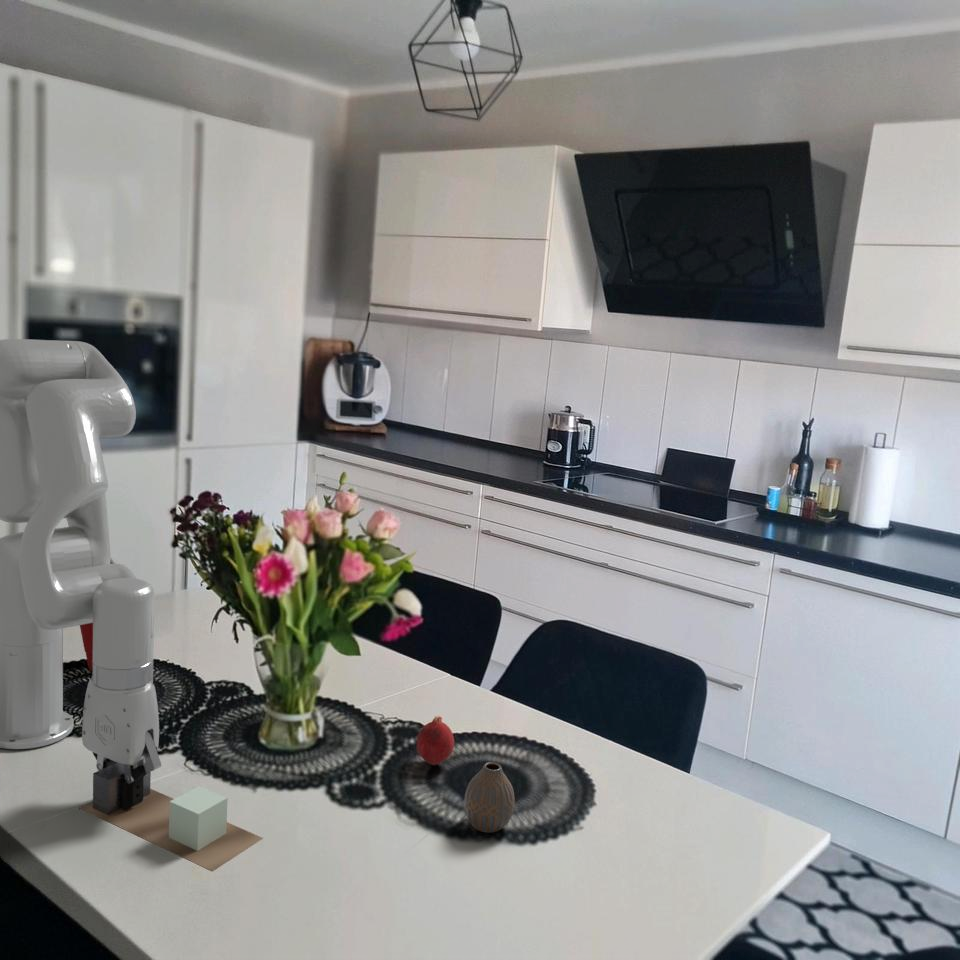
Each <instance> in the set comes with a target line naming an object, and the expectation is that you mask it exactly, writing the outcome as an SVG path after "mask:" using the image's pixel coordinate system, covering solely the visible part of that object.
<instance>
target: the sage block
mask: <svg viewBox="0 0 960 960" xmlns="http://www.w3.org/2000/svg"><path fill="white" fill-rule="evenodd" d="M227 817H228V797H226V796H224V795H222V794H219V793H217V792H214V791H213V790H210V789H207V788H206V787H203V786H200V785H198V786H195V788H192V789H190V790H189V791H187V792H185V793H183V794H181V795H179V796H177V797H175V798H173V800H171V801H170V810H169V838H171V839H173V840H175V841H177V842H180V843H182V844H184V845H186V846H188V847H190V848H192V849H195V850H197V851H198V850H200V849H201V848H203V847H205V846H206V845H208V844H210V843H211V842H213V841H214V840H216V839H218V838H219V837H221V836H223V835H224V834H226V825H227V821H228V820H227V819H228V818H227Z"/></svg>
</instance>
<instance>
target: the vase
mask: <svg viewBox="0 0 960 960" xmlns="http://www.w3.org/2000/svg"><path fill="white" fill-rule="evenodd" d="M515 802H516V800H515V793H514V788H513V785H512V783H511V782H510V780H509V779H508V777H507V776H506V775H505V773H504V771H503V769H502V766H501V765H500V764H499V763H498V762H486V763H484V765H483V766H482V768H481V769H480V770H479V771H478V772H477V773H476V774H475V776H474V777H472V779H471V780H470V781H469V783H468V785H467V787H466V789H465V794H464V801H463V803H464V804H463V805H464V812H465V815H466V818H467V820H468V822H469V823H470V824H471V826H473V828H474V829H476V830H477V831H480V832H482V833H495V832H499V831H500V830H501V829H503V828H505V827H506V825H508V823H509V822H510V820H511V818H512V816H513V813H514V810H515V809H514V808H515V804H516V803H515Z"/></svg>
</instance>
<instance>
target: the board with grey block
mask: <svg viewBox="0 0 960 960" xmlns="http://www.w3.org/2000/svg"><path fill="white" fill-rule="evenodd" d="M137 767H138V764H137V763H135V764H134V765H133V769H135V768H137ZM151 773H152V771H151V772H148V773H147V775H146V776H144V779H143V801H142V802H141V803H139V804H137V805H135V806H133V807H131V808H129V809H127V810H124V809H122V807H121V784H122V782H123V781H125V773H124V765H122V764H120V763H115V764H112V765H110V766H108V767H106V768H104V769H101V770H97V771H95V772H93V773H92V800H91V801H90V802H87V803H85V804H84V805H81V806H80V807H78V810H82V811H85V812H87V813H89V814H91V815H93V816H95V817H97V818H99V819H101V820H104V821H105V822H107V823H110V824H112V825H114V826H116V827H118V828H119V829H122V830H124V831H127V832H128V833H130V834H133V835H135V836H137V837H139V838H141V839H143V840H145V841H147V842H150V843H152V844H154V845H156V846H158V847H160V848H162V849H165V850H167V851H169V852H170V853H173V854H175V855H177V856H179V857H181V858H184V860H187V861H190V862H191V863H194V864H196V865H197V866H200V867H201V868H204V869H206V870H208V871H210V872H214V871H216V870H217V869H218V868H220V867H221V866H224V864H227V862H230V861H231V860H232V859H234V858H236V857H237V856H238V855H240V854H242V853H243V852H245V851H247V849H249V848H251V847H252V846H254V845H255V844H257V843H258V842H260V841H261V840H263V839H264V837H262V836H260V835H257V834H254V833H253V832H250V831H248V830H246V829H243V828H241V827H239V826H237V825H235V824H232V823H230V822H227V825H226V834H224V835H223V836H221V837H219V838H218V839H216V840H214V841H213V842H211V843H210V844H208V845H206V846H205V847H203V848H201V849H200V850H198V851H197V850H195V849H192V848H190V847H188V846H186V845H184V844H182V843H180V842H177V841H175V840H173V839H171V838H169V810H170V801H171V800H173V799H174V798H173V797H170V796H169V795H165V794H164V793H161V792H159V791H157V790H154V789H152V788H151V776H152V775H151Z"/></svg>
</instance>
